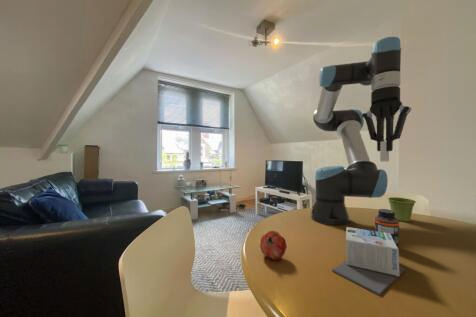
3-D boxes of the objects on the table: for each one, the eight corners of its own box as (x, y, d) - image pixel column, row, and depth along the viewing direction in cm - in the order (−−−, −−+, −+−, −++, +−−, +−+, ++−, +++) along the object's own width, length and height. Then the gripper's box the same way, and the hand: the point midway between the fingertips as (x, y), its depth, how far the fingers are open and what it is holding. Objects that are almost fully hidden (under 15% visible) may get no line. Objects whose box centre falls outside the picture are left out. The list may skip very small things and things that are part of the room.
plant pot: (422, 223, 80) (422, 202, 79) (398, 223, 80) (399, 202, 79) (402, 215, 89) (403, 197, 89) (382, 216, 89) (382, 197, 89)
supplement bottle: (376, 240, 65) (377, 206, 64) (399, 246, 60) (400, 210, 60) (372, 246, 60) (372, 210, 60) (397, 253, 56) (397, 214, 56)
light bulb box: (345, 226, 59) (390, 232, 53) (346, 248, 59) (390, 256, 53) (345, 239, 49) (400, 248, 44) (346, 265, 49) (400, 278, 44)
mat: (332, 271, 48) (332, 269, 48) (360, 253, 56) (360, 251, 56) (379, 295, 40) (379, 293, 40) (404, 270, 48) (404, 268, 48)
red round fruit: (264, 256, 60) (249, 246, 53) (274, 233, 62) (260, 222, 56) (285, 268, 54) (271, 259, 48) (295, 243, 57) (283, 231, 51)
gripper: (358, 92, 66) (357, 161, 67) (407, 80, 55) (406, 162, 56) (368, 96, 70) (367, 160, 71) (415, 85, 60) (414, 161, 60)
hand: (384, 161), depth 64 cm, fingers closed
